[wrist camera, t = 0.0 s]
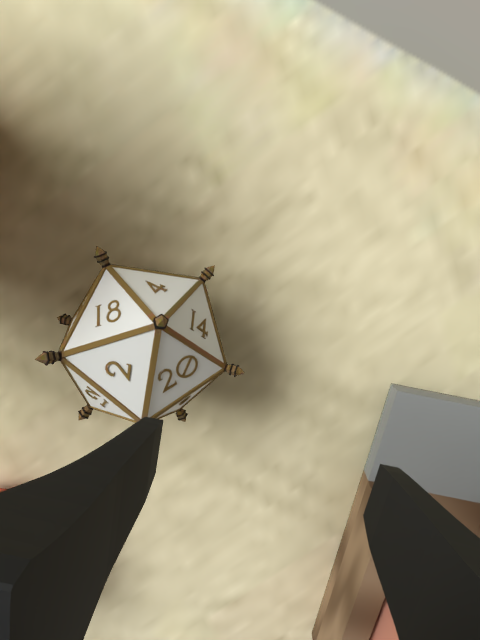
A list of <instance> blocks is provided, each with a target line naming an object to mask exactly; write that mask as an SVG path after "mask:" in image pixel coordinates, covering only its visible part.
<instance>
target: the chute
mask: <svg viewBox="0 0 480 640" xmlns="http://www.w3.org/2000/svg"><path fill="white" fill-rule="evenodd" d="M373 484H374V482H373V481H368V479H367V477H366V474H365V472H364V471H363V474H362V477H361V480H360V483H359V487H358V490H357V493H356V496H355V499H354V502H353V505H352V509H351V512H350V515H349V518H348V521H347V524H346V527H345V530H344V534H343V537H342V540H341V543H340V546H339V549H338V552H337V556H336V559H335V562H334V565H333V568H332V571H331V574H330V578H329V581H328V584H327V587H326V590H325V593H324V596H323V600H322V603H321V606H320V609H319V612H318V615H317V618H316V622H315V625H314V628H313V631H312V638H313V640H369V638H370V636H371V633H372V630H373V628H374V625H375V622H376V620H377V617H378V614H379V612H380V609H381V606H382V604H383V601H384V598H385V595H384V592H383V589H382V586H381V583H380V580H379V577H378V574H377V571H376V567H375V564H374V561H373V558H372V555H371V552H370V549H369V544H368V539H367V535H366V529H365V524H364V518H363V514H364V511H365V508H366V505H367V502H368V499H369V496H370V493H371V490H372V487H373ZM429 494H430V495H431V496H432V497H433V498H434V499H435V500H436V501H437V502H439V503H440V504H441V505H442V506H443V507H444V508H445V509H446V510H447V511H449V512H450V513H451V514H452V515H453V516H454V517H455V518H456V519H458V520H459V521H460V522H461V523H462V524H463V525H465V526H466V527H467V528H468V529H469V530H471V531H472V532H473V533H474V534H475V535H477V536H478V537H479V538H480V503H477V502H472V501H467V500H462V499H457V498H452V497H447V496H442V495H437V494H432V493H429Z"/></svg>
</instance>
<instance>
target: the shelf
mask: <svg viewBox="0 0 480 640" xmlns="http://www.w3.org/2000/svg"><path fill="white" fill-rule="evenodd" d="M380 464H383V465H388V466H393V467H398V468H400V469H401V470H402V471H404V472H405V473H406V474H407V475H409V476H410V477H411V478H412V479H413V480H414V481H415V482H417V483H418V484H419V485H420V486H421V487H422V488H423V489H424V490H425V491H426V492H428V493H432V494H437V495H442V496H447V497H452V498H457V499H462V500H467V501H472V502H477V503H480V401H477V400H472V399H467V398H462V397H457V396H452V395H447V394H442V393H437V392H432V391H427V390H421V389H416V388H411V387H406V386H401V385H396V384H391V386H390V389H389V392H388V396H387V399H386V402H385V405H384V408H383V411H382V414H381V417H380V421H379V424H378V427H377V430H376V433H375V436H374V439H373V443H372V446H371V449H370V452H369V455H368V458H367V461H366V465H365V468H364V472H365V474H366V477H367V479H368V481H373V482H374V481H375V478H376V475H377V472H378V469H379V466H380Z"/></svg>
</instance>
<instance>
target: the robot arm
mask: <svg viewBox="0 0 480 640" xmlns="http://www.w3.org/2000/svg"><path fill="white" fill-rule="evenodd" d="M162 426H163V420H160V419H155V418H150V417H144V418H142V419H141V420H139V421H138V422H136V423H135V424H133V425H132V426H131V427H129V428H128V429H126V430H125V431H123V432H122V433H121V434H119V435H118V436H116V437H115V438H113V439H112V440H110V441H108V442H107V443H105V444H104V445H102V446H101V447H99V448H98V449H96V450H94V451H92V452H91V453H89V454H87V455H86V456H84V457H82V458H80V459H78V460H77V461H75V462H73V463H71V464H69V465H67V466H65V467H63V468H60V469H58V470H56V471H54V472H52V473H50V474H47V475H45V476H42V477H40V478H37V479H35V480H32V481H29V482H27V483H24V484H21V485H19V486H16V487H14V488H11V489H8V490H5V491H2V492H0V640H83V639H84V636H85V634H86V631H87V629H88V626H89V623H90V621H91V618H92V616H93V613H94V610H95V608H96V605H97V603H98V600H99V598H100V595H101V593H102V590H103V588H104V585H105V583H106V581H107V578H108V576H109V574H110V572H111V570H112V567H113V565H114V563H115V561H116V559H117V557H118V555H119V553H120V551H121V549H122V547H123V545H124V543H125V541H126V539H127V537H128V535H129V533H130V531H131V529H132V527H133V525H134V523H135V521H136V519H137V517H138V515H139V513H140V511H141V509H142V507H143V505H144V503H145V501H146V498H147V495H148V493H149V490H150V487H151V484H152V481H153V479H154V476H155V473H156V466H157V459H158V453H159V446H160V439H161V433H162ZM363 518H364V524H365V529H366V535H367V539H368V544H369V549H370V552H371V555H372V558H373V561H374V564H375V567H376V571H377V574H378V577H379V580H380V583H381V586H382V589H383V592H384V595H385V598H386V601H387V604H388V607H389V610H390V613H391V616H392V619H393V622H394V625H395V628H396V631H397V635H398V638H399V640H480V538H479V537H478V536H477V535H475V534H474V533H473V532H472V531H471V530H469V529H468V528H467V527H466V526H465V525H463V524H462V523H461V522H460V521H459V520H458V519H456V518H455V517H454V516H453V515H452V514H451V513H450V512H449V511H447V510H446V509H445V508H444V507H443V506H442V505H441V504H440V503H439V502H437V501H436V500H435V499H434V498H433V497H432V496H431V495H430V494H429V493H428V492H426V491H425V490H424V489H423V488H422V487H421V486H420V485H419V484H418V483H417V482H415V481H414V480H413V479H412V478H411V477H410V476H409V475H407V474H406V473H405V472H404V471H402V470H401V469H400V468H398V467H393V466H388V465H383V464H380V466H379V469H378V472H377V475H376V478H375V481H374V484H373V487H372V490H371V493H370V496H369V499H368V502H367V505H366V508H365V511H364V514H363Z"/></svg>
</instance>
